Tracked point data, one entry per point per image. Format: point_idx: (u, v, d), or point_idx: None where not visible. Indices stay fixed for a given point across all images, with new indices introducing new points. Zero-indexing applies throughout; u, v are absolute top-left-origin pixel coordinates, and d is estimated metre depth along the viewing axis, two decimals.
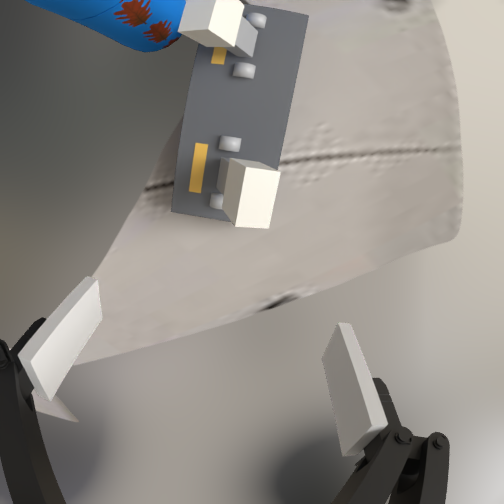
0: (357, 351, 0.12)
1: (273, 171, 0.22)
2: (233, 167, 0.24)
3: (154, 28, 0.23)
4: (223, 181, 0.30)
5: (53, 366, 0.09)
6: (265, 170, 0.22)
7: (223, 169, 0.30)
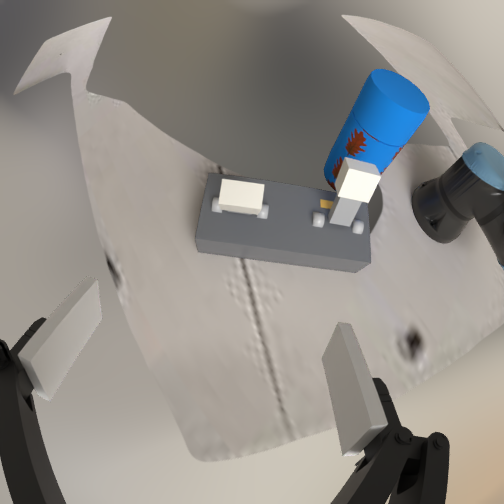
0: (357, 351, 0.12)
1: (261, 204, 0.33)
2: None
3: None
4: None
5: (53, 366, 0.09)
6: (262, 198, 0.33)
7: None
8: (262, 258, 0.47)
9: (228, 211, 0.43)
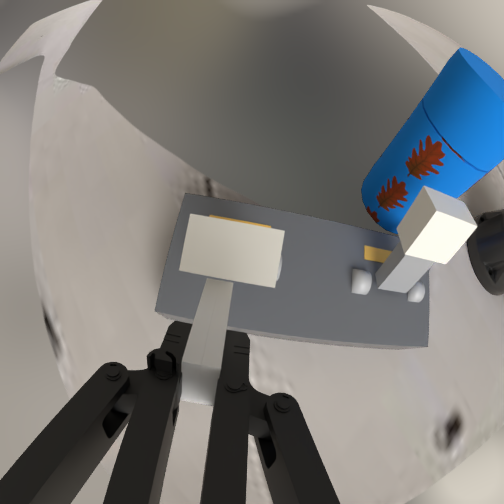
0: (225, 304, 0.14)
1: (275, 276, 0.15)
2: None
3: (398, 187, 0.29)
4: None
5: None
6: (278, 262, 0.15)
7: None
8: (266, 336, 0.29)
9: None
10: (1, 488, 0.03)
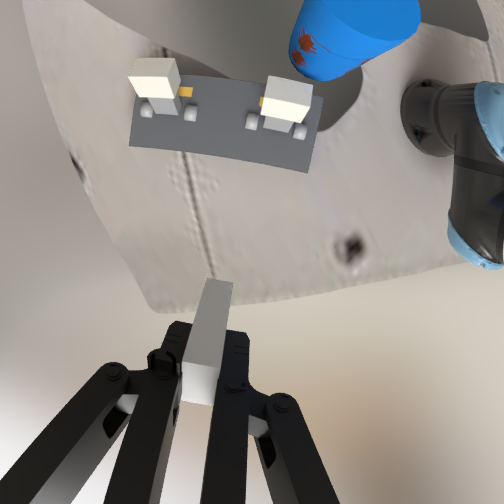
0: (224, 304, 0.14)
1: (168, 73, 0.26)
2: None
3: (298, 54, 0.32)
4: None
5: None
6: (169, 68, 0.26)
7: None
8: None
9: (155, 111, 0.36)
10: (1, 488, 0.03)
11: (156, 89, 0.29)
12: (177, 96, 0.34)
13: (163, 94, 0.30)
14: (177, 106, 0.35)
